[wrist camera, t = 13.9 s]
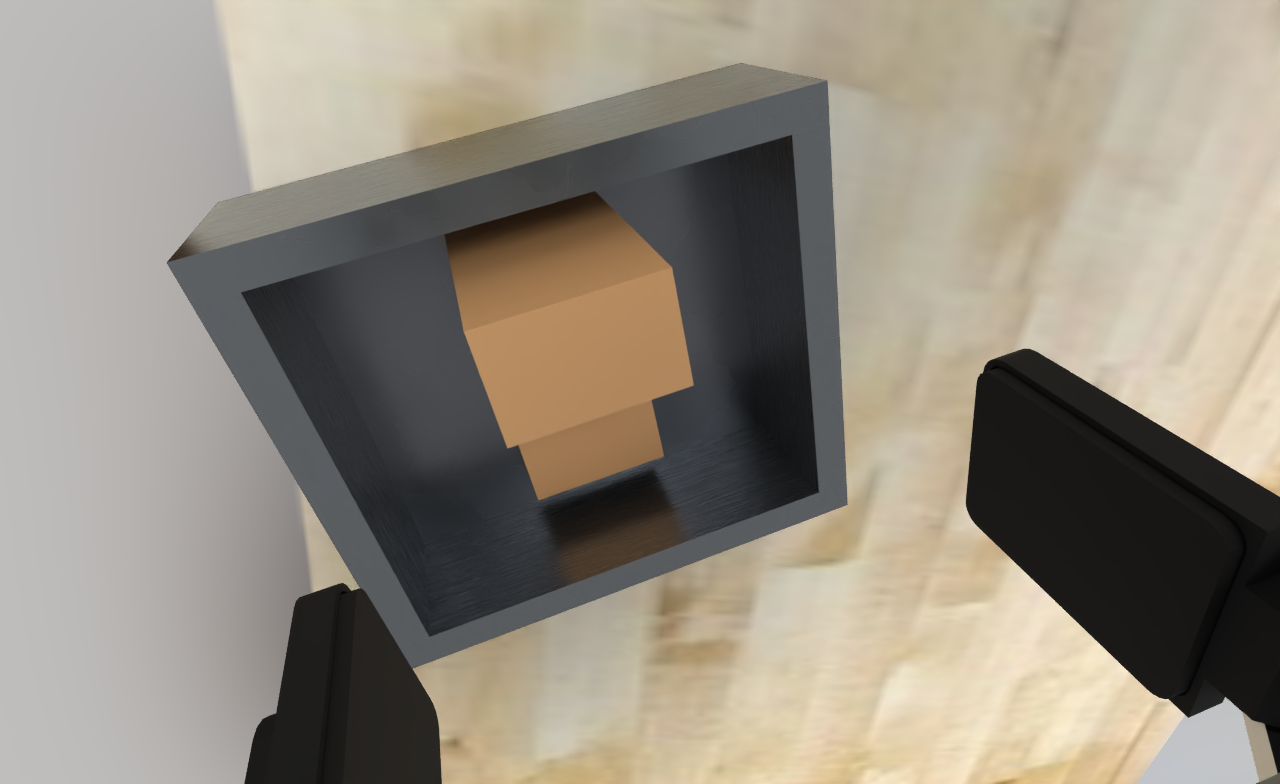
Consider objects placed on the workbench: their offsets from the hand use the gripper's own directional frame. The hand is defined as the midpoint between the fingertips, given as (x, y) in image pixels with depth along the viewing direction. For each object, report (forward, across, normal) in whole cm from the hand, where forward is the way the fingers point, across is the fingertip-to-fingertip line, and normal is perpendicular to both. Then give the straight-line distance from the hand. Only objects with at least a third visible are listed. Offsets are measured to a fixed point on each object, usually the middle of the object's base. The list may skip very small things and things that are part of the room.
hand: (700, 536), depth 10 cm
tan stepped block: (+13, 0, +3) cm, 13 cm away
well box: (+14, 0, +3) cm, 14 cm away
